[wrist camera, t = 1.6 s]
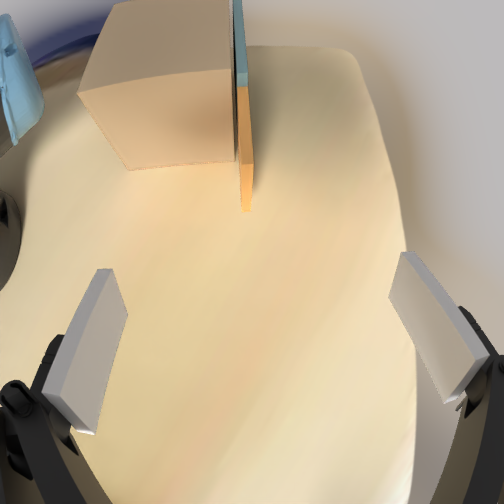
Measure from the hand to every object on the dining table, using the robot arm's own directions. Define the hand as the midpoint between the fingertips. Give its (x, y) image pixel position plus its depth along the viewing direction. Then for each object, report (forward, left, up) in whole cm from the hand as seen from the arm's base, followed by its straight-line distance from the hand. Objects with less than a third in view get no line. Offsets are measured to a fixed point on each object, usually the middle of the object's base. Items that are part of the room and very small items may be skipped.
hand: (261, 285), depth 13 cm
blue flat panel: (-6, +18, -15) cm, 24 cm away
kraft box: (-14, +19, -16) cm, 28 cm away
